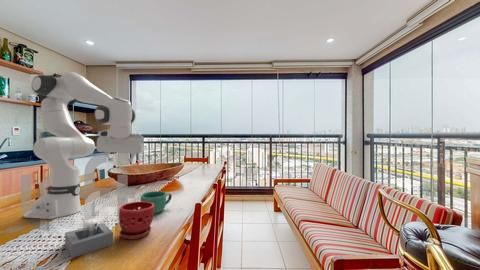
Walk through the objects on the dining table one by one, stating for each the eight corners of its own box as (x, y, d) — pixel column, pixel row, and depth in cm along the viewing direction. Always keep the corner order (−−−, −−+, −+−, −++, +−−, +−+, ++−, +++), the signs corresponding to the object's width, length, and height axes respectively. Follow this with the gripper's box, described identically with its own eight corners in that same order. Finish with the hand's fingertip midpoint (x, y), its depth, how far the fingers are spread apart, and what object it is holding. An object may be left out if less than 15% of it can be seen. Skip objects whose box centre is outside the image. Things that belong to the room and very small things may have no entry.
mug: (144, 218, 101) (145, 199, 101) (137, 210, 110) (137, 193, 110) (176, 210, 112) (176, 193, 112) (167, 204, 121) (167, 188, 121)
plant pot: (151, 239, 81) (152, 209, 81) (113, 243, 77) (115, 211, 77) (155, 225, 93) (156, 199, 93) (123, 228, 89) (124, 201, 89)
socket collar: (71, 258, 67) (72, 244, 67) (64, 244, 75) (65, 232, 75) (112, 244, 76) (113, 232, 76) (102, 233, 84) (103, 222, 84)
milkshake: (85, 241, 78) (86, 215, 78) (99, 241, 78) (100, 215, 78) (76, 247, 73) (77, 219, 73) (92, 247, 74) (93, 219, 74)
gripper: (146, 133, 100) (145, 161, 101) (102, 131, 98) (102, 159, 99) (141, 134, 93) (140, 164, 94) (94, 132, 92) (94, 162, 93)
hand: (120, 161), depth 97 cm, fingers open, 8 cm apart
